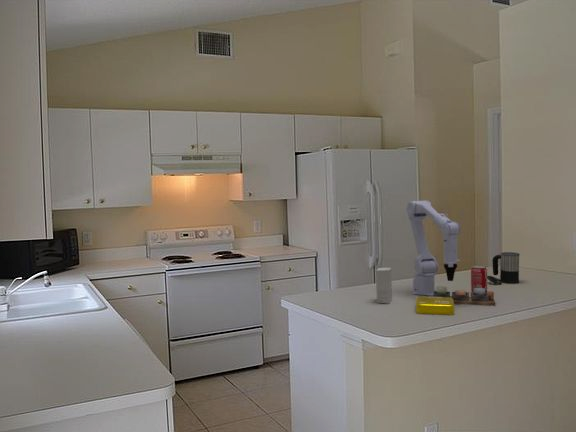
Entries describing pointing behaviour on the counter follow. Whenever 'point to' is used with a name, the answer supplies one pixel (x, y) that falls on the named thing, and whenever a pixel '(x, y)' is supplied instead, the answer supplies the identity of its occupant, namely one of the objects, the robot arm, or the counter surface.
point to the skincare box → (384, 285)
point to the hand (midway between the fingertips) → (450, 280)
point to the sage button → (441, 290)
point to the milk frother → (506, 268)
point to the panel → (469, 298)
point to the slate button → (479, 291)
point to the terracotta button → (460, 292)
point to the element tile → (435, 305)
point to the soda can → (478, 277)
